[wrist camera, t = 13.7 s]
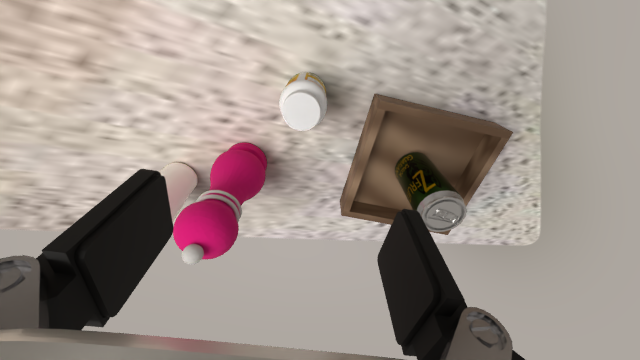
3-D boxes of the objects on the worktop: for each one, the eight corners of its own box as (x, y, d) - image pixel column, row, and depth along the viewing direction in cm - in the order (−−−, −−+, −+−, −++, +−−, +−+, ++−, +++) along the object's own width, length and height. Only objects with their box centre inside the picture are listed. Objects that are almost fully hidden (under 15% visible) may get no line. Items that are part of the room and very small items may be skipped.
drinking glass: (152, 175, 41) (73, 242, 28) (173, 148, 38) (97, 207, 25) (189, 200, 43) (132, 272, 30) (211, 176, 41) (160, 243, 28)
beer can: (436, 157, 38) (479, 204, 28) (416, 185, 40) (448, 238, 30) (405, 144, 37) (438, 188, 26) (386, 174, 39) (410, 225, 29)
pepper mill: (279, 169, 40) (247, 273, 23) (242, 187, 42) (186, 297, 24) (252, 130, 37) (190, 217, 19) (213, 152, 39) (125, 249, 21)
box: (374, 93, 34) (380, 100, 31) (494, 122, 36) (513, 132, 33) (339, 200, 43) (341, 215, 39) (437, 219, 45) (447, 234, 41)
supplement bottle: (289, 114, 36) (279, 139, 27) (283, 73, 33) (270, 87, 24) (327, 111, 35) (329, 135, 27) (324, 69, 33) (325, 82, 24)
